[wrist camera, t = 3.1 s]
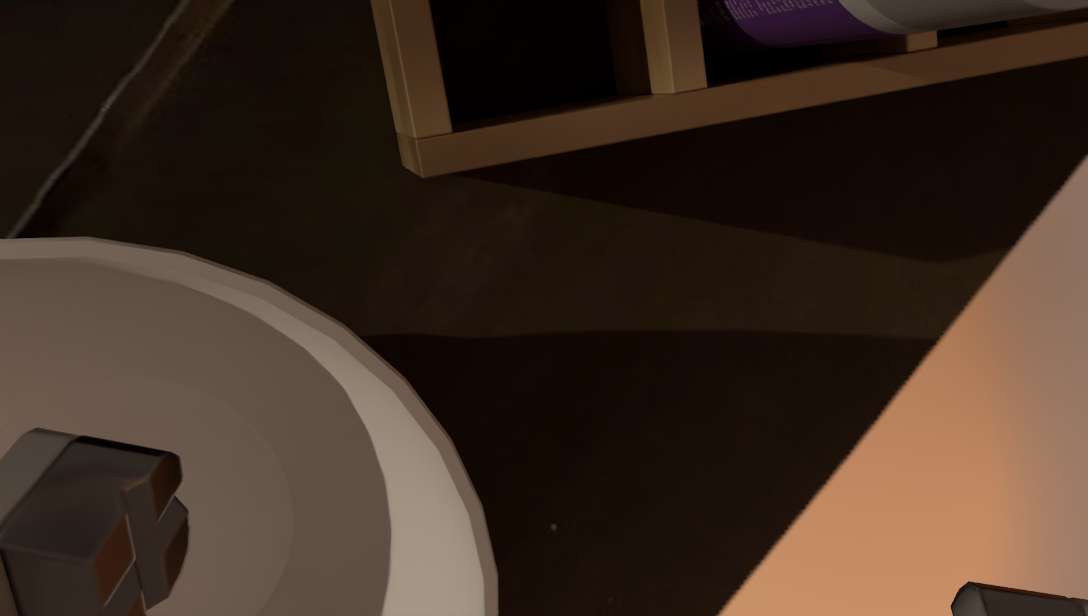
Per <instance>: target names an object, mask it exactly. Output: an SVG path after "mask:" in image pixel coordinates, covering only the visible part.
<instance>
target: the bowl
mask: <svg viewBox="0 0 1088 616" xmlns="http://www.w3.org/2000/svg"><path fill="white" fill-rule="evenodd" d="M37 427H39V428H44V429H49V430H54V431H60V432H65V433H70V434H75V435H81V436H82V435H86V436H91V437H96V438H101V439H107V440H112V441H117V442H122V443H128V444H133V445H138V446H144V447H149V448H154V449H159V450H165V451H170V452H173V453H175V454H177V455H179V456H180V459H181V465H182V470H183V475H184V481H183V483H182V484H181V486H180V487H179V489H178V491H177V492H176V494H175V496H176V497H177V498H178V499H179V500H180V501H181V502H182V503H183V504H184V505H185V506H186V508H187V509H188V510H189V515H190V523H191V534H190V547H189V551H188V554H187V558H186V561H185V564H184V567H183V571H182V574H181V576H180V578H179V580H178V582H177V584H176V586H175V587H174V589H173V591H172V593H171V595H170V597H169V598H167V599H165V600H164V601H162V602H160V603H159V604H157V605H156V606H154V607H152V608H151V609H149V610H147V611H146V613H147V616H499V614H498V572H497V568H496V563H495V559H494V554H493V550H492V545H491V541H490V537H489V532H488V528H487V523H486V519H485V514H484V510H483V506H482V503H481V501H480V499H479V497H478V495H477V493H476V491H475V488H474V486H473V484H472V482H471V480H470V478H469V476H468V473H467V471H466V469H465V467H464V465H463V463H462V461H461V458H460V456H459V454H458V452H457V450H456V448H455V446H454V443H453V441H452V439H451V438H450V436H449V435H448V434H447V432H446V431H445V430H444V429H443V427H442V426H441V425H440V423H439V422H438V421H437V419H436V418H435V417H434V415H433V414H432V413H431V411H430V410H429V409H428V407H427V406H426V405H425V403H424V402H423V401H422V399H421V398H420V397H419V395H418V394H417V393H416V392H415V390H414V389H413V388H412V386H411V385H410V384H409V382H408V381H407V380H406V378H405V377H404V376H403V375H401V374H400V373H399V372H398V371H397V370H396V369H395V368H393V367H392V366H391V365H390V364H389V363H388V362H387V361H385V360H384V359H383V358H382V357H381V356H380V355H379V354H377V353H376V352H375V351H374V350H373V349H372V348H371V347H369V346H368V345H367V344H366V343H365V342H364V341H363V340H361V339H360V338H359V337H358V336H357V335H356V334H354V333H353V332H352V331H351V330H350V329H349V328H348V327H346V326H345V325H344V324H343V323H341V322H339V321H337V320H336V319H334V318H332V317H331V316H329V315H327V314H325V313H324V312H322V311H320V310H318V309H317V308H315V307H313V306H311V305H310V304H308V303H306V302H304V301H303V300H301V299H299V298H297V297H296V296H294V295H292V294H291V293H289V292H287V291H285V290H284V289H282V288H280V287H278V286H277V285H275V284H273V283H271V282H270V281H267V280H264V279H262V278H259V277H256V276H253V275H250V274H247V273H244V272H241V271H238V270H236V269H233V268H230V267H227V266H224V265H221V264H218V263H215V262H212V261H210V260H207V259H204V258H201V257H198V256H195V255H192V254H189V253H186V252H184V251H178V250H172V249H165V248H159V247H152V246H145V245H139V244H132V243H126V242H119V241H113V240H106V239H99V238H93V237H61V238H26V239H0V459H1V458H2V457H3V456H4V455H5V453H6V452H7V451H8V450H9V449H10V448H11V446H12V445H13V444H14V443H15V442H16V441H17V440H18V438H19V437H20V436H21V435H23V434H24V433H26V432H28V431H30V430H32V429H34V428H37Z"/></svg>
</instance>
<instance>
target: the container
mask: <svg viewBox="0 0 1088 616" xmlns="http://www.w3.org/2000/svg"><path fill="white" fill-rule="evenodd" d="M697 2H698V10H699V18H700V27H701V35H702V44H703V50H704V51H707V52H712V53H738V52H748V51H757V50H767V49H777V48H787V47H796V46H806V45H816V44H826V43H836V42H845V41H855V40H865V39H875V38H885V37H894V36H904V35H913V34H920V33H925V32H931V31H937V30H944V29H951V28H957V27H964V26H971V25H978V24H984V23H991V22H998V21H1004V20H1011V19H1018V18H1024V17H1031V16H1038V15H1044V14H1051V13H1058V12H1065V11H1071V10H1077V9H1082V8H1087V7H1088V0H697Z"/></svg>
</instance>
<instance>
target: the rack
mask: <svg viewBox="0 0 1088 616" xmlns="http://www.w3.org/2000/svg"><path fill="white" fill-rule="evenodd" d="M604 3H605V10H606V18H607V25H608V32H609V39H610V46H611V53H612V60H613V68H614V75H615V82H616V89H617V94H619V95H614V96H608V97H602V98H596V99H591V100H585V101H579V102H574V103H568V104H562V105H556V106H551V107H545V108H539V109H534V110H528V111H522V112H517V113H511V114H505V115H499V116H494V117H488V118H482V119H477V120H471V121H465V122H460V123H454V124H451V118H450V113H449V107H448V102H447V96H446V90H445V85H444V79H443V74H442V68H441V63H440V57H439V52H438V46H437V40H436V35H435V29H434V24H433V18H432V13H431V7H430V1H429V0H371V5H372V10H373V15H374V21H375V26H376V31H377V36H378V41H379V46H380V52H381V57H382V62H383V67H384V72H385V77H386V83H387V88H388V93H389V98H390V103H391V108H392V114H393V119H394V124H395V129H396V132H397V133H398V134H397V140H398V145H399V150H400V155H401V160H402V165H403V166H404V167H406V168H407V169H409V170H410V171H412V172H414V173H415V174H417V175H418V176H420V177H422V178H424V179H425V178H431V177H436V176H442V175H447V174H452V173H458V172H463V171H469V170H474V169H479V168H485V167H490V166H496V165H501V164H506V163H512V162H517V161H523V160H528V159H533V158H539V157H544V156H550V155H555V154H560V153H566V152H571V151H577V150H582V149H587V148H593V147H598V146H604V145H609V144H615V143H620V142H625V141H631V140H636V139H642V138H647V137H652V136H658V135H663V134H669V133H674V132H679V131H685V130H690V129H696V128H701V127H706V126H712V125H717V124H723V123H728V122H733V121H739V120H744V119H750V118H755V117H760V116H766V115H771V114H777V113H782V112H787V111H793V110H798V109H804V108H809V107H814V106H820V105H825V104H831V103H836V102H841V101H847V100H852V99H858V98H863V97H868V96H874V95H879V94H885V93H890V92H895V91H901V90H906V89H912V88H917V87H922V86H928V85H933V84H939V83H944V82H949V81H955V80H960V79H966V78H971V77H976V76H982V75H987V74H993V73H998V72H1003V71H1009V70H1014V69H1020V68H1025V67H1030V66H1036V65H1041V64H1047V63H1052V62H1057V61H1063V60H1068V59H1074V58H1079V57H1084V56H1088V7H1087V8H1082V9H1077V10H1071V11H1065V12H1058V13H1051V14H1044V15H1038V16H1031V17H1024V18H1018V19H1011V20H1006V25H1007V27H1001V28H996V29H990V30H984V31H979V32H973V33H967V34H961V35H956V36H950V37H944V38H939V39H937V31H931V32H925V33H920V34H913V35H904V36H894V37H885V38H875V39H865V40H855V41H845V42H836V43H826V44H819V51H820V58H822V59H819V60H813V61H807V62H802V63H796V64H790V65H785V66H779V67H773V68H768V69H762V70H756V71H750V72H745V73H739V74H733V75H728V76H722V77H716V78H711V79H707V78H706V69H705V61H704V52H703V44H702V35H701V27H700V18H699V10H698V2H697V0H604Z"/></svg>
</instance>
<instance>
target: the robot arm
mask: <svg viewBox="0 0 1088 616" xmlns="http://www.w3.org/2000/svg"><path fill="white" fill-rule="evenodd" d="M183 481H184V475H183V470H182V465H181V459H180V456H179V455H177V454H175V453H173V452H170V451H165V450H159V449H154V448H149V447H144V446H138V445H133V444H128V443H122V442H117V441H112V440H107V439H101V438H96V437H91V436H86V435H82V436H81V435H75V434H70V433H65V432H60V431H54V430H49V429H44V428H39V427H37V428H34V429H32V430H30V431H28V432H26V433H24V434H23V435H21V436H20V437H19V438H18V440H17V441H16V442H15V443H14V444H13V445H12V446H11V448H10V449H9V450H8V451H7V452H6V453H5V455H4V456H3V457H2V458H1V459H0V616H147V613H146V611H147V610H149V609H151V608H152V607H154V606H156V605H157V604H159V603H160V602H162V601H164V600H165V599H167V598H169V597H170V595H171V593H172V591H173V589H174V587H175V586H176V584H177V582H178V580H179V578H180V576H181V574H182V571H183V567H184V564H185V561H186V558H187V554H188V551H189V547H190V534H191V523H190V515H189V510H188V509H187V508H186V506H185V505H184V504H183V503H182V502H181V501H180V500H179V499H178V498H177V497H176V496H175V494H176V492H177V491H178V489H179V487H180V486H181V484H182V483H183ZM951 610H952V613H953V616H1088V600H1085V599H1079V598H1067V597H1065V596H1059V595H1053V594H1047V593H1040V592H1033V591H1027V590H1021V589H1014V588H1008V587H1001V586H995V585H988V584H981V583H975V582H967V583H966V584H965V585H964V586H962V587H961V588H960V589H959V591H958V592H957V594H956V597H955V598H954V601H953V602H952V604H951Z"/></svg>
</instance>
